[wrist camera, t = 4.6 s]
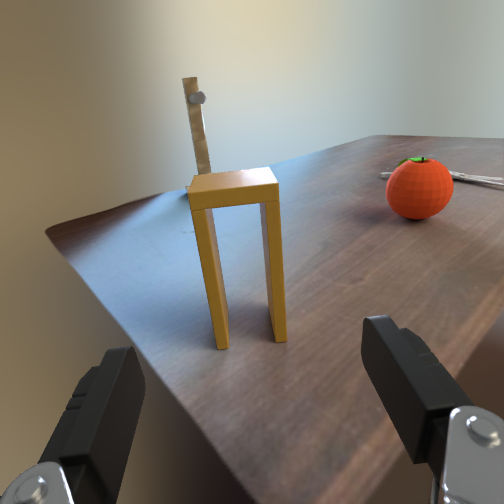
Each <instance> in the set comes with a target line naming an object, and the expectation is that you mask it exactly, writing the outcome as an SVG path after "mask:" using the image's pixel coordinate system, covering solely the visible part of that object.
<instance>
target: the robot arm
mask: <svg viewBox="0 0 504 504" xmlns="http://www.w3.org/2000/svg"><path fill="white" fill-rule="evenodd" d="M361 356H362V361H363V365H364V367H365V369H366V371H367V373H368V375H369V377H370V379H371V381H372V383H373V385H374V387H375V389H376V391H377V393H378V395H379V397H380V399H381V401H382V403H383V405H384V407H385V409H386V411H387V413H388V415H389V417H390V419H391V421H392V422H393V424H394V426H395V428H396V430H397V432H398V434H399V436H400V438H401V440H402V442H403V444H404V446H405V448H406V450H407V452H408V454H409V456H410V458H411V460H412V462H413V464H420V463H428V465H429V466H430V468H431V470H432V472H433V476H432V481H431V489H430V497H429V504H504V421H503V420H502V419H501V418H500V417H498V416H497V415H495V414H493V413H491V412H490V411H487V410H485V409H483V408H479V407H476V406H475V405H474V404H473V402H472V401H471V400H470V399H469V398H468V396H467V395H466V394H465V393H464V391H463V390H462V389H461V388H460V386H459V385H458V384H457V383H456V381H455V380H454V379H453V378H452V376H451V375H450V374H449V373H448V371H447V370H446V369H445V368H444V366H443V365H442V364H441V363H439V360H438V359H437V358H436V356H435V355H434V354H433V353H431V350H430V349H429V348H428V346H427V345H426V344H425V343H424V341H423V340H422V339H421V338H420V337H419V336H417V335H416V334H414V333H413V332H411V331H410V330H408V329H407V328H402V329H399V328H398V327H397V326H396V324H395V323H394V322H393V320H392V319H391V318H390V317H389V316H388V315H381V316H373V317H366V318H365V319H364V321H363V332H362V344H361ZM144 396H145V378H144V375H143V372H142V370H141V367H140V364H139V361H138V358H137V355H136V352H135V350H134V348H133V347H132V346H129V347H121V348H113V349H108V350H107V351H106V353H105V355H104V358H103V360H102V362H101V364H100V366H96V367H92V368H91V369H90V370H89V371H88V372H87V373H86V374H85V375H84V377H82V379H81V380H80V381H79V383H78V385H77V387H76V389H75V391H74V393H73V395H72V398H71V399H70V400H69V403H68V404H67V407H66V411H64V412H63V415H62V416H61V418H60V420H59V423H58V424H57V426H56V428H55V430H54V432H53V434H52V436H51V438H50V440H49V442H48V444H47V446H46V448H45V450H44V452H43V454H42V456H41V458H40V460H39V461H38V463H37V465H34V466H32V467H31V468H29V469H27V470H26V471H24V472H23V473H21V474H20V475H19V476H18V477H17V478H16V479H15V480H14V481H13V482H12V483H11V484H10V485H9V486H8V488H7V489H6V490H5V492H4V493H3V495H2V496H0V504H116V501H117V497H118V494H119V490H120V486H121V483H122V479H123V475H124V471H125V467H126V464H127V460H128V456H129V452H130V449H131V445H132V441H133V438H134V433H135V430H136V426H137V423H138V419H139V415H140V411H141V407H142V404H143V400H144Z"/></svg>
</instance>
